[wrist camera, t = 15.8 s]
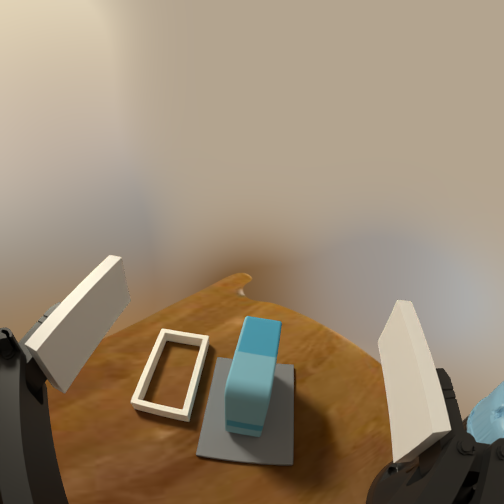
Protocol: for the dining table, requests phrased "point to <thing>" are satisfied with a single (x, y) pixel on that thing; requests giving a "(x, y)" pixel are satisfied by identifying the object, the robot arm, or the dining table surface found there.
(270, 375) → the blue rounded block
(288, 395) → the mat
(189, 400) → the cradle
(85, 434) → the dining table surface
